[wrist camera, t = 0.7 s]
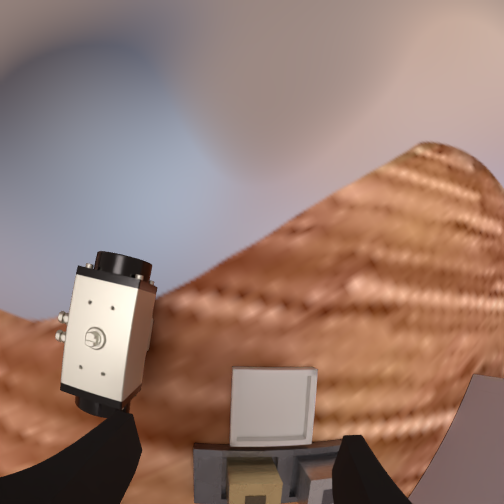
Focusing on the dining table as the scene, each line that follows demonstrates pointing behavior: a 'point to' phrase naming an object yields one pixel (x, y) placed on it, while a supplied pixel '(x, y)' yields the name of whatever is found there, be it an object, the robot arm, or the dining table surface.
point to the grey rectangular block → (313, 478)
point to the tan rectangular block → (252, 481)
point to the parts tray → (272, 406)
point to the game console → (469, 451)
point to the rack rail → (215, 456)
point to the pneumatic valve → (107, 333)
